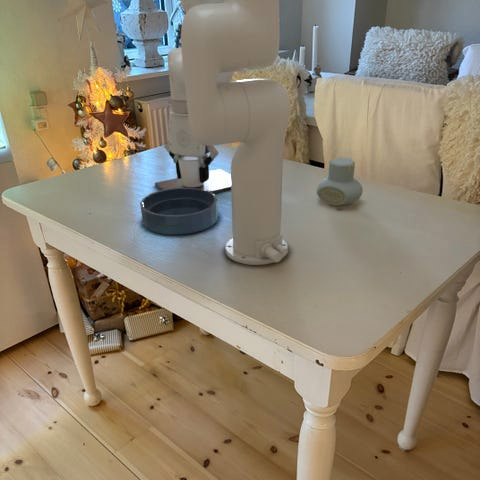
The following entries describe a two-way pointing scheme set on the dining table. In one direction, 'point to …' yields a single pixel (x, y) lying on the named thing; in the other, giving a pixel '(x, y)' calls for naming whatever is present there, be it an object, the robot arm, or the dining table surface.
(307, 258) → the dining table surface
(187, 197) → the bowl
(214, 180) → the board
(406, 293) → the dining table surface
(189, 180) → the white cup
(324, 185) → the air freshener
